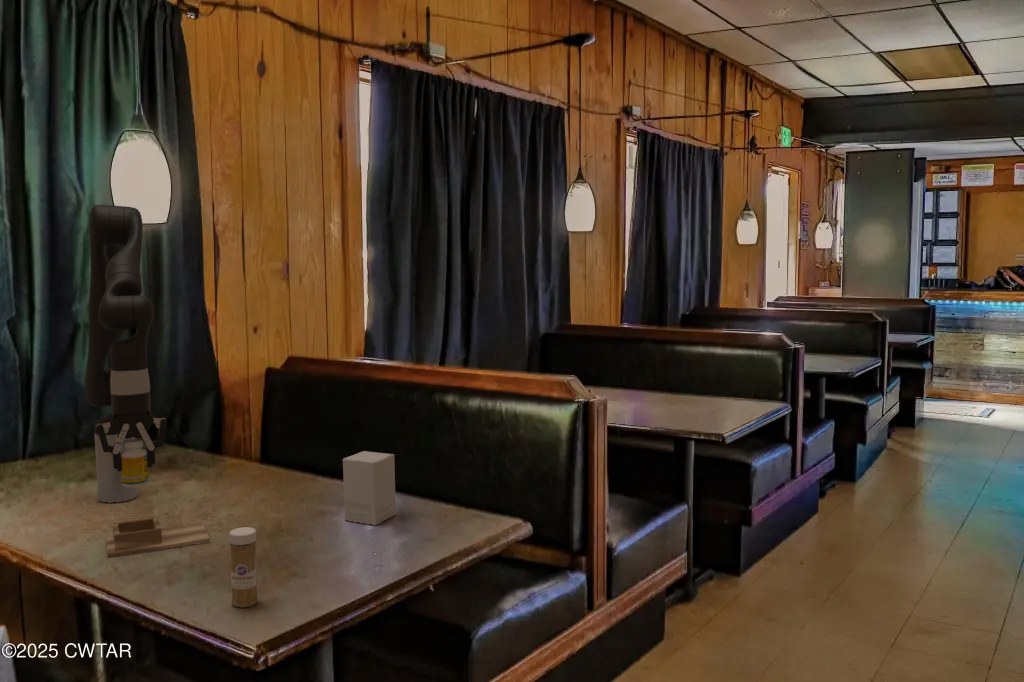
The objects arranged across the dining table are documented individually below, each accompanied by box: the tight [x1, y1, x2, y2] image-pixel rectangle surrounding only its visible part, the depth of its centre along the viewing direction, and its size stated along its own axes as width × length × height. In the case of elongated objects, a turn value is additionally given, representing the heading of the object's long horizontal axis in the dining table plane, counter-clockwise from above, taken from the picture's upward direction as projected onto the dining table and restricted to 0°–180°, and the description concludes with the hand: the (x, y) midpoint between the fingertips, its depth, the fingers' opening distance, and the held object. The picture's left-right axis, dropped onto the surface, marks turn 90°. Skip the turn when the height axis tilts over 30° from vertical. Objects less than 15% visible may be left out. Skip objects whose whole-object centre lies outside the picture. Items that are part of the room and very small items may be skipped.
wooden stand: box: [105, 516, 211, 559], centre depth 184 cm, size 12×20×4 cm, turn 117°
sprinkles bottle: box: [228, 526, 259, 608], centre depth 152 cm, size 5×5×14 cm
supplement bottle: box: [120, 438, 150, 487], centre depth 181 cm, size 5×5×10 cm
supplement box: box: [342, 450, 397, 526], centre depth 199 cm, size 9×9×15 cm
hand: (134, 468), depth 181 cm, fingers closed on supplement bottle, 5 cm apart
